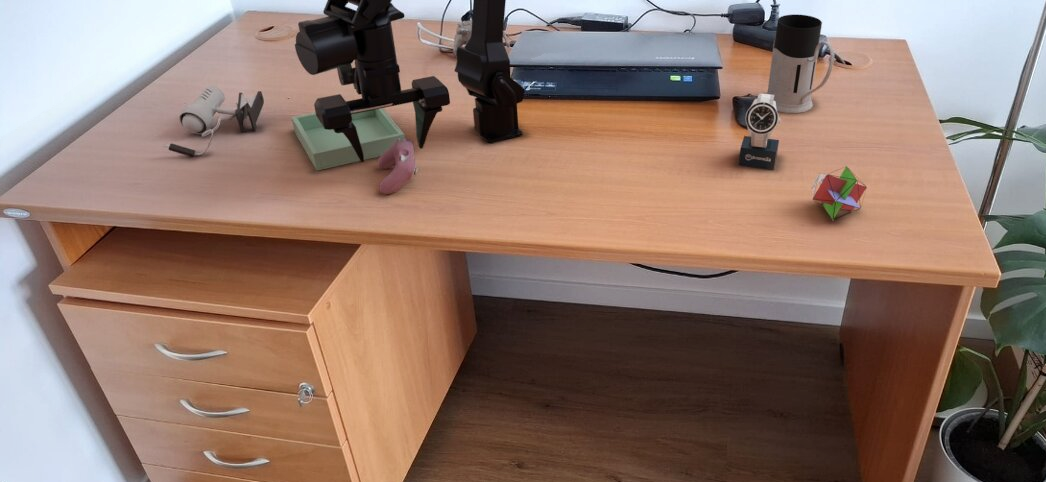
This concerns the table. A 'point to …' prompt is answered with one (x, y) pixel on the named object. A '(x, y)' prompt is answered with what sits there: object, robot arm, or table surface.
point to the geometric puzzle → (838, 192)
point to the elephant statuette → (467, 35)
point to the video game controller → (397, 165)
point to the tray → (336, 148)
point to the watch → (760, 134)
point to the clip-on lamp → (204, 108)
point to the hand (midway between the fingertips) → (391, 154)
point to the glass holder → (796, 62)
